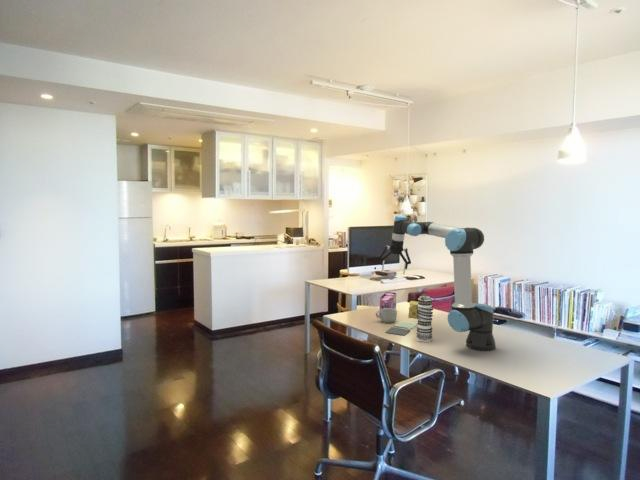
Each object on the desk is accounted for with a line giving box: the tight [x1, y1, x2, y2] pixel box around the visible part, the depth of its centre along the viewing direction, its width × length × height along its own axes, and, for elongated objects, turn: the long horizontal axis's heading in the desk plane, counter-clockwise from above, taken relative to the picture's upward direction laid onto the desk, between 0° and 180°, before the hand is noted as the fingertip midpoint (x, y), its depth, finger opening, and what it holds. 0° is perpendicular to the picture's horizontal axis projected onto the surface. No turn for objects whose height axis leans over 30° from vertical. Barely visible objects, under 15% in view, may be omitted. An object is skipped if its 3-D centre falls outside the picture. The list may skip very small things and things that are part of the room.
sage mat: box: [393, 320, 418, 330], centre depth 274 cm, size 12×12×1 cm
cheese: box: [407, 300, 418, 319], centre depth 296 cm, size 10×11×10 cm
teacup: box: [375, 308, 398, 324], centre depth 282 cm, size 14×11×8 cm
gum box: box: [378, 291, 397, 317], centre depth 302 cm, size 24×8×14 cm, turn 160°
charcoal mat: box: [384, 326, 411, 337], centre depth 260 cm, size 12×12×1 cm
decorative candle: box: [416, 295, 434, 343], centre depth 245 cm, size 9×9×25 cm
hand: (393, 271), depth 274 cm, fingers open, 13 cm apart
